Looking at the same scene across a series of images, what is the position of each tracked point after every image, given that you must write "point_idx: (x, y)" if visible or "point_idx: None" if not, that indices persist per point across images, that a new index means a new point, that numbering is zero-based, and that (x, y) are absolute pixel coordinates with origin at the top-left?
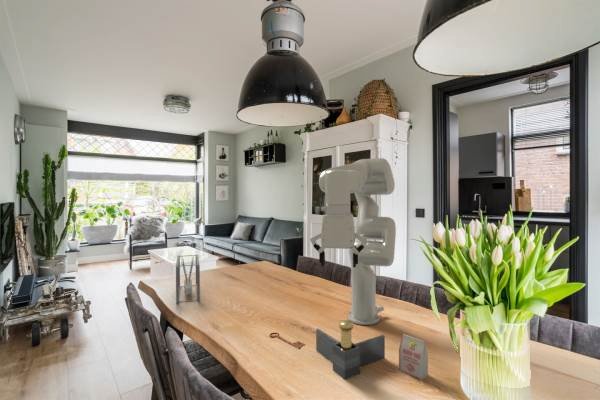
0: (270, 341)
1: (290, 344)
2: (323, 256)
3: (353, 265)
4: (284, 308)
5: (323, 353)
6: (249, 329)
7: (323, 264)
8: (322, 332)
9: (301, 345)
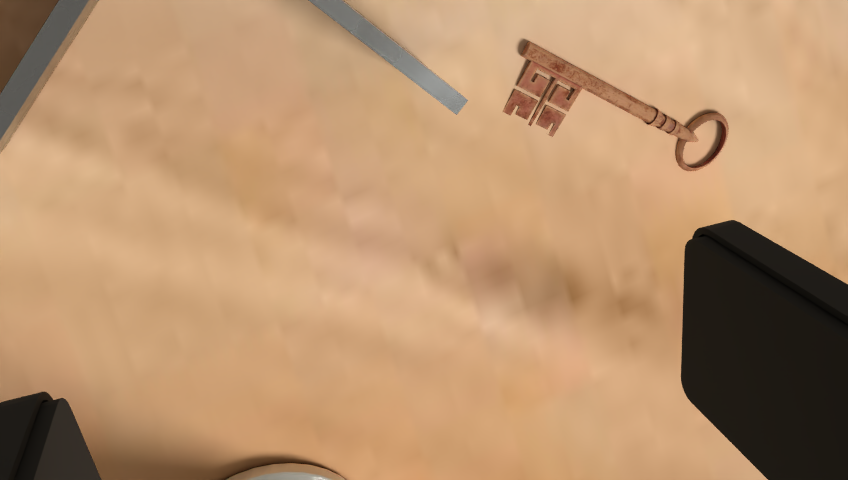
0: (703, 64)
1: (588, 74)
2: (835, 333)
3: (42, 417)
4: (723, 448)
5: (368, 20)
6: (843, 148)
7: (707, 245)
8: (408, 59)
9: (525, 86)
